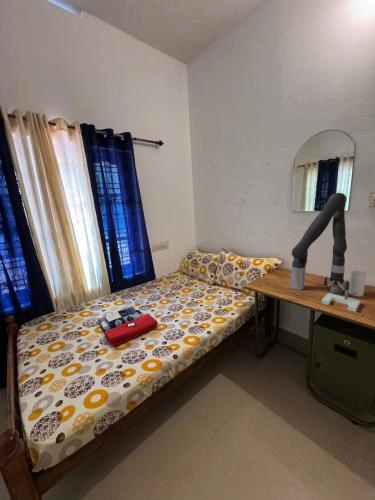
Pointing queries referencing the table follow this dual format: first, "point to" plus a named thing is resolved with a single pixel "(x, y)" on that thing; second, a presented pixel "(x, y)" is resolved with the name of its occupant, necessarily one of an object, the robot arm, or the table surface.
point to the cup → (357, 282)
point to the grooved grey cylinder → (335, 290)
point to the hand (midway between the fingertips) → (335, 292)
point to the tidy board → (342, 300)
